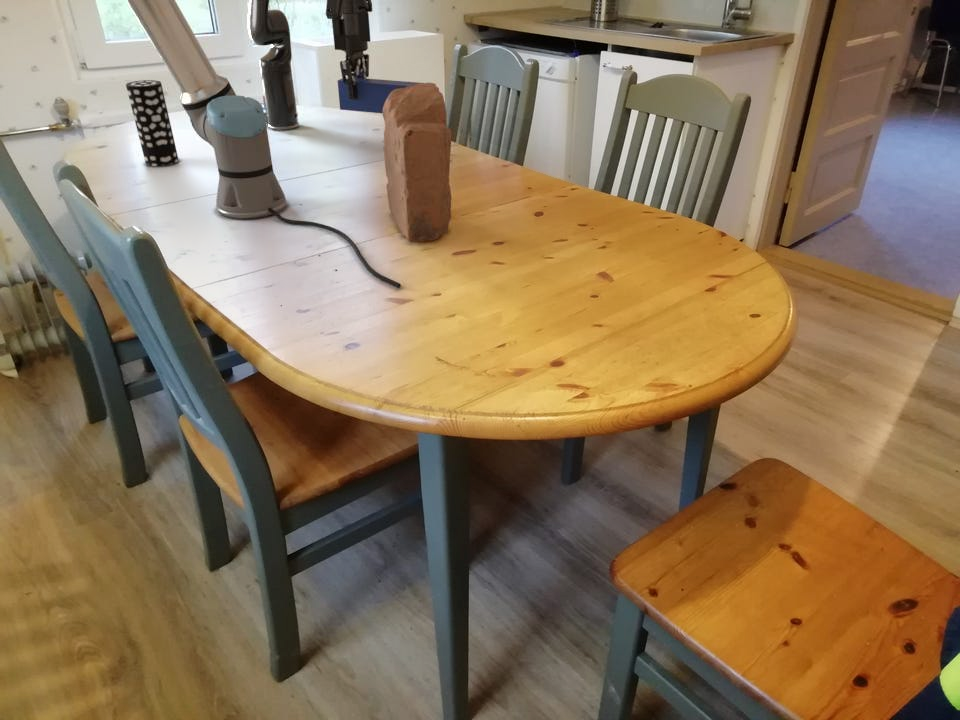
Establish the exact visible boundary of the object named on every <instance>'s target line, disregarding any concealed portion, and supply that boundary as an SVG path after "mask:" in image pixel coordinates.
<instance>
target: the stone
mask: <svg viewBox="0 0 960 720" xmlns="http://www.w3.org/2000/svg"><path fill="white" fill-rule="evenodd" d="M382 112H383V113H382V119H383V121H384V131H383V157H384V158H383V159H384V168H385V169H384V170H385V175H386V178H387V183H386V194H387V195H386V196H387V202H388V208H389V211H390V214H391V215H392V218H393V220H394V221H395V223H396V225H397V226H398V229H399V231H400V233H402V235H403V236H404V237H405V239H406V240H407V241H408V242H410V243H421V242H424V241H435V240H436V239H439V238H440V237H441V236H442V235H443V234H445V233H447V232H448V231H449V225H450V222H451V219H452V192H451V185H450V168H451V166H450V164H451V154H452V153H451V152H452V129H451V128H449V125H448V124H447V107H446V102H445V98H444V95H443V93H442V92H441V91H440V87H438V86H437V84H436V83H433V82H418V84H415V85H410V86H407V87H405V88H400V89H395V90H393V91H392V92H391V93H390V94H389V96H388V98H387V99H386V101H385V103H384V106H383V110H382Z"/></svg>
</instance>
